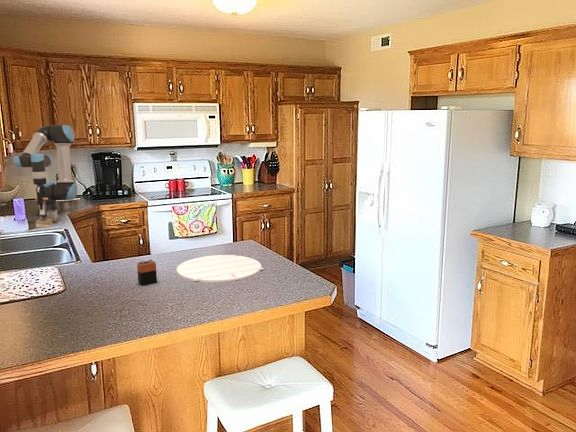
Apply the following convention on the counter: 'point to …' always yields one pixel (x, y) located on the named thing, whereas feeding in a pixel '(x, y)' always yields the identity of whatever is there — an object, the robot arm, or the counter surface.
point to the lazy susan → (219, 268)
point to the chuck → (52, 216)
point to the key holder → (43, 223)
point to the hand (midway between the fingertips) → (43, 213)
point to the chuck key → (44, 209)
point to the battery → (147, 272)
